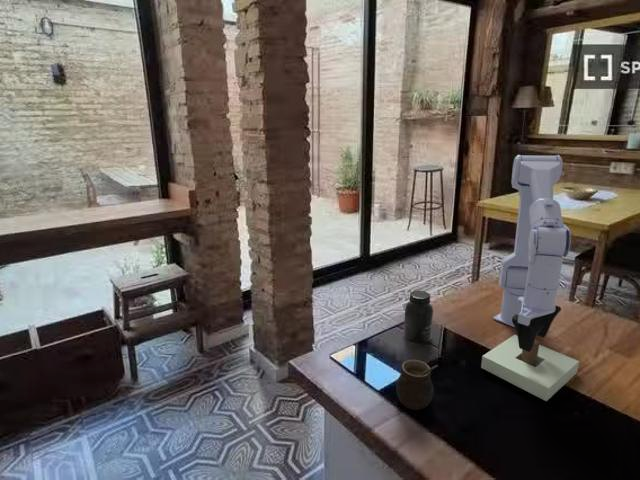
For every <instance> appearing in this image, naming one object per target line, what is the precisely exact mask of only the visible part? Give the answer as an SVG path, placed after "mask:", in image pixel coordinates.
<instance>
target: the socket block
mask: <svg viewBox="0 0 640 480" xmlns="http://www.w3.org/2000/svg"><path fill="white" fill-rule="evenodd" d="M521 355H522V349H520V348H519V343H518V336H517V334H513V335H511V336H510V337H509V338H508V339H506V340H505V341H503V342H501V343H499V344H498V345H497V346H495V347H494V348H492V349H491V350H489V351H488V352H486V353H485V354H483V355H482V356H481V365H480V368H481V369H482V370H485V371H487V372H488V373H491V374H492V375H495V376H496V377H498V378H500V379H502V380H504V381H506V382H507V383H510V384H512V385H514V386H515V387H518V388H519V389H521V390H524V391H525V392H528V393H529V394H531V395H534V396H535V397H538V398H539V399H541V400H543V401H545V402H548V401H549V400H550V399H551V398H552V397H553V396H554V395H555V394H556V393H557V392H558V391H559V390H560V389H562V387H564V386H565V384H567V383H568V382H569V381H571V379H572V378H573V377H575V376H576V374H577V373H578V368H579V365H580V361H579V360H577V359H575V358H572V357H570V356H568V355H565V354H563V353H560V352H557V351H555V350H553V349H551V348H548V347H545V346H544V345H541V344H539V350H538V356H537V362H536V367H534V366H532V365H529V364H527V363H525V362H523V361H521Z"/></svg>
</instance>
